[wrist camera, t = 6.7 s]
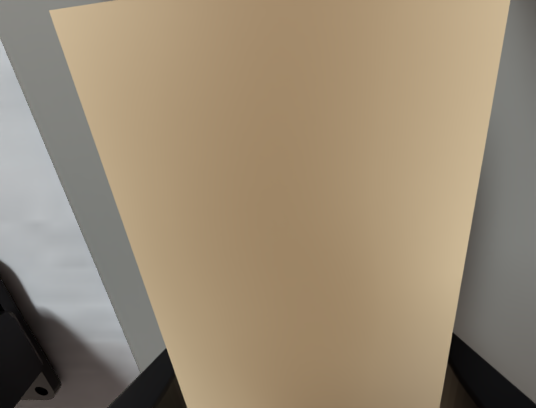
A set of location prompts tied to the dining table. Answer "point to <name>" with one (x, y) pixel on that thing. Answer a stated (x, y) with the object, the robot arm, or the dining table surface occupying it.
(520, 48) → the board
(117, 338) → the dining table surface
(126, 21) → the wooden building block
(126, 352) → the dining table surface
